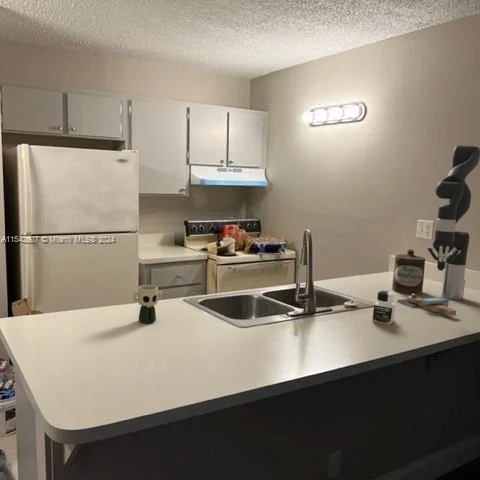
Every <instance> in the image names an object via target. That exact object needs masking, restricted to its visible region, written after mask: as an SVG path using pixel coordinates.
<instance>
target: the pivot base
mask: <svg viewBox="0 0 480 480" xmlns="http://www.w3.org/2000/svg"><path fill="white" fill-rule="evenodd" d="M410 296H411V297H418V294H413V293H412V294H410ZM396 303H399V304H402V305H404V306H407V307H409V308H412V309H414V308H417V309H418V308H424V307H423V306H421V305H418V304H415V303H412V302H409V301H408V298H404V299H397V301H396Z"/></svg>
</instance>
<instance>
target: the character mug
mask: <svg viewBox="0 0 480 480" xmlns="http://www.w3.org/2000/svg"><path fill="white" fill-rule="evenodd" d="M137 290H138V291H137V292H134V293H133V294H132V295H133V296H132V297H133V298H132V301H133V302H134V303H135V302H137V304H138V305H140V307H139V314H138V321H139V322H140V323H143V324H144V323H145V324H147V323H154V322H156V321H157V317H156V315H157V314H156V307H155V306H156V305H157V304H158V302H159V300H162V299H163V291H162V290H159V287H158V286H157V285H153V284H144V285H143V284H141V285H139V286H138V287H137Z"/></svg>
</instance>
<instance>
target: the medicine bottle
mask: <svg viewBox="0 0 480 480" xmlns="http://www.w3.org/2000/svg"><path fill="white" fill-rule="evenodd" d="M395 309H396V303H395V302H394V293H393V292H391V291H388V290H380V291H378V292H377V300H376V302H375V303H374V304H373V313H372V322H374V323H380V324H385V325H391V324H392V323H393V322H394V320H395V311H396V310H395Z"/></svg>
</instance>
